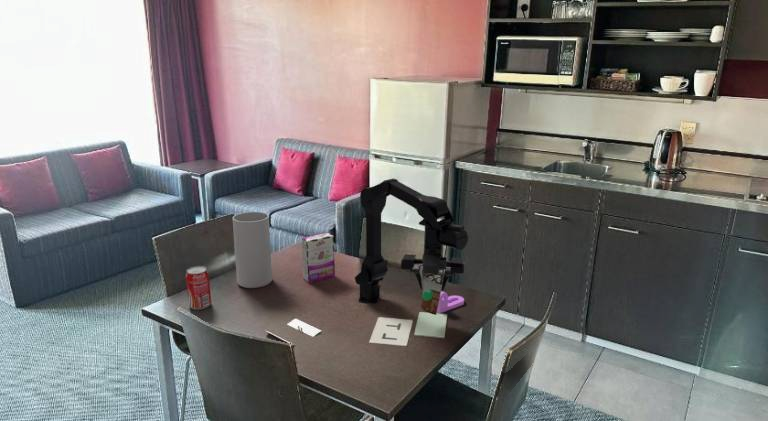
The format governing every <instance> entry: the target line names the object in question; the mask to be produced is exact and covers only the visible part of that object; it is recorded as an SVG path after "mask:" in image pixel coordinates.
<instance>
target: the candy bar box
mask: <svg viewBox="0 0 768 421" xmlns="http://www.w3.org/2000/svg"><path fill="white" fill-rule="evenodd" d="M334 239H335V237H334V235H333V234H332V233H329V232H325V233H319V234H315V235H310V236H305V237H301V254H302V272H303V273H302V275H303V280H304V281H306V282H307V283H308V284H310V283H315V282H319V281H323V280H326V279H330V278H335V277H336V269H335V268H336V267H335V266H336V265H335V240H334Z"/></svg>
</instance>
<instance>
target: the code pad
mask: <svg viewBox="0 0 768 421" xmlns="http://www.w3.org/2000/svg"><path fill="white" fill-rule="evenodd" d="M413 320H414V319H407V318H406V319H403V318H393V317H383V316H380V317H379V316H378V318H377V320H376V323H375V326H374V328H373V330H372V333H371V336H370V339H369V341H368V343H370V344H379V345H380V344H381V345H391V346H401V347H407V345H408V341H409V338H410V334H411V329H412V326H413Z"/></svg>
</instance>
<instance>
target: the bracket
mask: <svg viewBox="0 0 768 421" xmlns="http://www.w3.org/2000/svg"><path fill="white" fill-rule="evenodd" d="M450 302H451V303H450ZM464 304H465V298H464V297H463V296H460V295H450V296H449V294H448V293H447V292H445V291H444V290H443V291H442V290H441V293H440V298H439V303H438V308H437V314H443V313H444V312H447V311H450V310H452V309H455V308H457V307H458V308H459V307H462V306H463V305H464Z"/></svg>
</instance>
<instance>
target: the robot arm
mask: <svg viewBox="0 0 768 421" xmlns="http://www.w3.org/2000/svg"><path fill="white" fill-rule="evenodd" d="M389 196H392V197H394V198H395V199H398V200H399V201H401V202H403V203H405V204H407V205H408V206H410V207H412V208H414V209H415V210H416V212H417V214H418V216H420V217H421V218H422V220H420V221H419V222H418V225H420V226H423V227H424V235H423V236H424V237H423V239H424V240H423V241H424V242H423V255H422V258H417V255H416V254H408V253H405V254H403V255H402V258H401V261H400V269H402V270H409V271H410V272H411V273H414V275H415V277H416V279H417V283H418V285H419V288H420V290H423V286H424V284H423V283H422V280H423V273H424V274H427V273H432V274H438V273H439V272H440V271H443V270H444V272H443V273H444V277H443V282H442V289H441V291H443V292H444V289H445V287H446V285H447V282H448V280H449V278H451V277H450V276H453V275H455V274H464V272H465V265H466V264H465V259H464V258H461V257H459V258H458V257H451V260H448V259H447V257H444V246H445V247H449V248H452V249H455V250H457V251H462V250H464V249H465V248H466V246H467V244H468V242H469V236H468V233H467V231H466V230H465V226H464V225H458V224H455V223H456V221H455V219H454V216H453V215H452V213H451V211H450V208H449V205H448V202H447V201H446V200H445V199H442V198H439V197H436V196H431V195H425V194H423V193H421V192H419V191H417V190H415V189H413V188H411V187H410V186H408V185H406V184H404V183H402V182H400V181H399V179H397V178H393V177H392V178H390V179H386V180H383V181H382V182H379V183H378V184H376V185H373V186H369V187H365V188H363V189H362V190H361V191H360V194H359V197H360V204H361V205H360V206H361V207H362V209H363V211H364V213H365V234H366V235H365V237H366V238H365V241H366V242H365V243H366V245H365V246H366V247H365V250H366V251H365V253H366V254H365V257H364V258H363V260H362V262H361V267H360V272H359V273H358V274H356V276H355V277H354V280H355V284H357V285H359V298H358V302H362V303H371V304H372V303H375V304H376V303H378V301H379V300H380V299H381V296H382V291H381V290H382V285H380V282H381V281H384V278H385V276H386V275H387V272H388V271H389V270H388V263H389V262H388V260H387V259H384V256H383V255H382V213H383V210H384V209H385V207H386V204H387V197H389Z"/></svg>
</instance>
